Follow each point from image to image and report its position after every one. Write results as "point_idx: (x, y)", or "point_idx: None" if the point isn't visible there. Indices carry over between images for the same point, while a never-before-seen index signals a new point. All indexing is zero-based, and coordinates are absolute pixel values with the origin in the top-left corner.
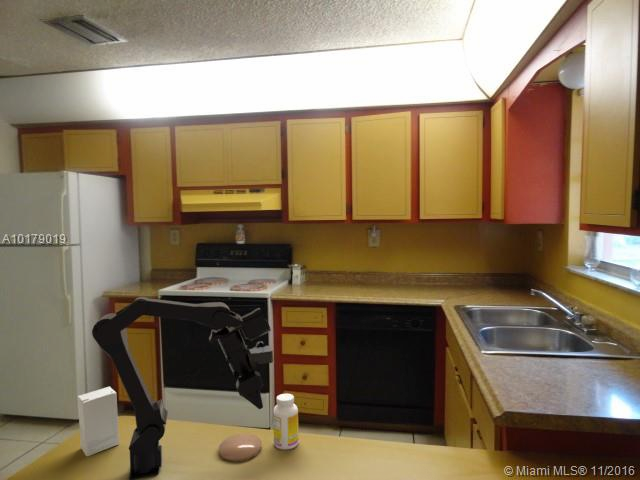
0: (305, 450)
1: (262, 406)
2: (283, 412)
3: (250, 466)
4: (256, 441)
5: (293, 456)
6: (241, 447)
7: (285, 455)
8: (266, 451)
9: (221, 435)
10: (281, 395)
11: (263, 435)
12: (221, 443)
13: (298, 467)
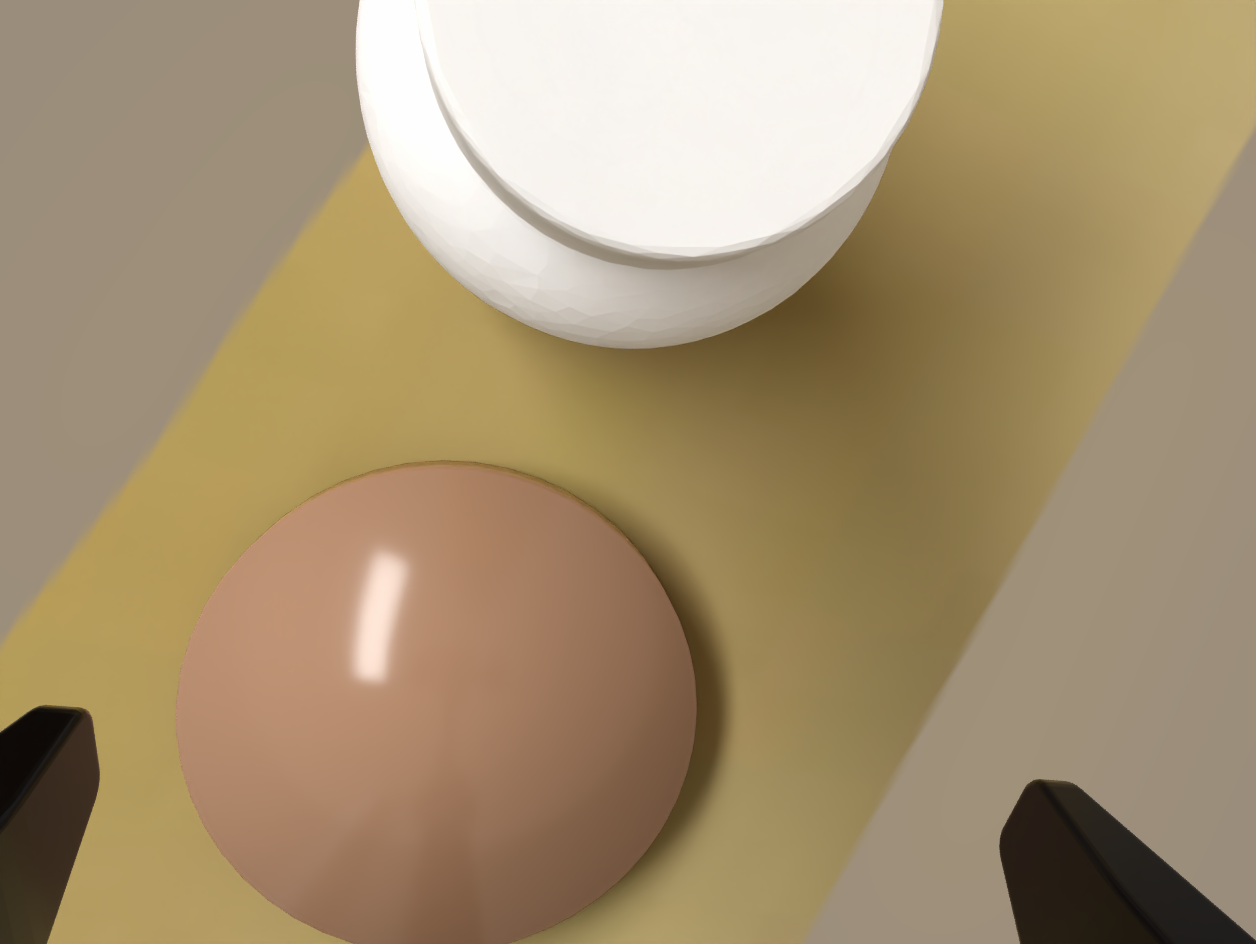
0: None
1: (1094, 813)
2: (855, 199)
3: (815, 671)
4: (458, 530)
5: None
6: (512, 724)
7: None
8: (627, 443)
9: None
10: (520, 48)
11: (246, 370)
12: (320, 919)
13: (1075, 223)
